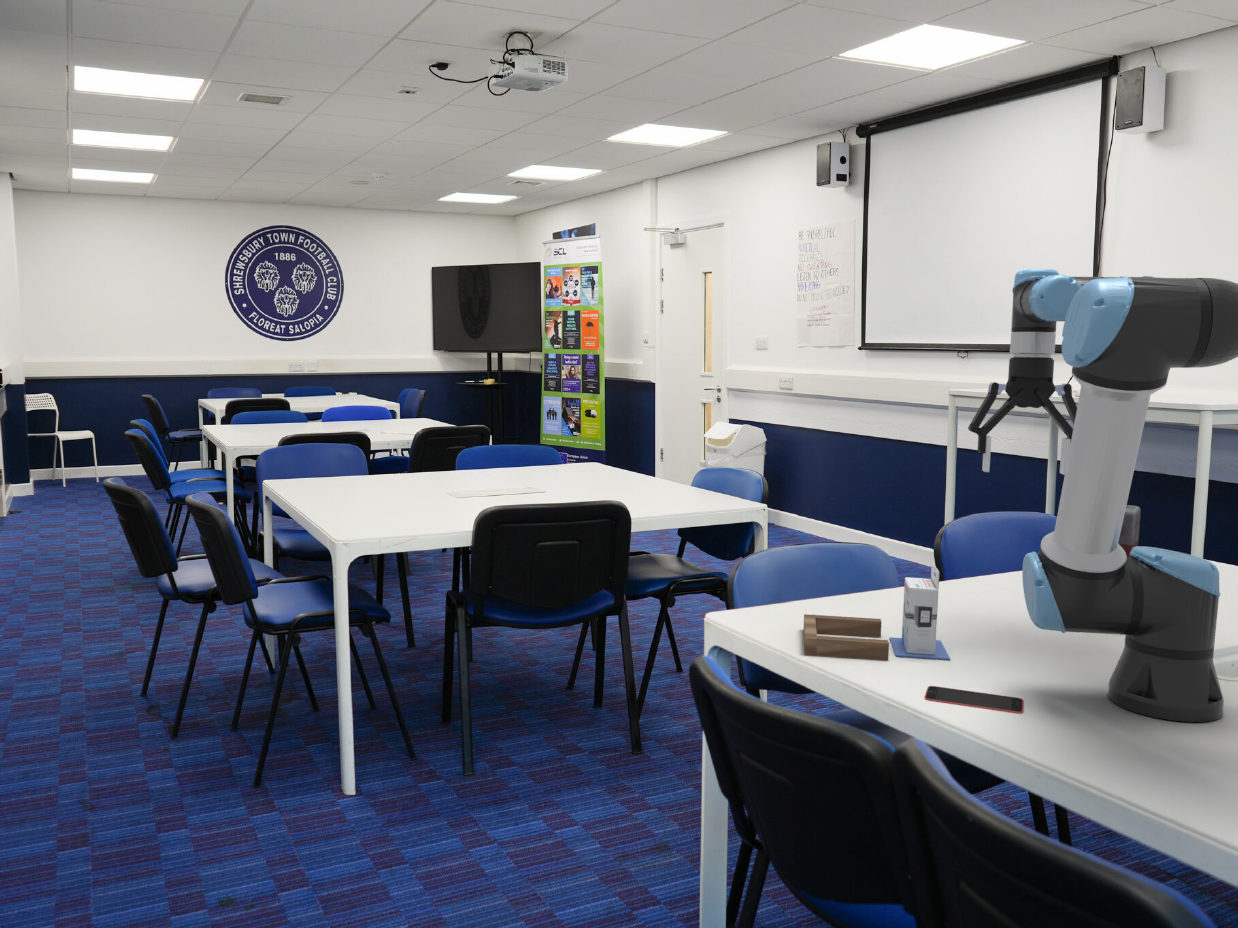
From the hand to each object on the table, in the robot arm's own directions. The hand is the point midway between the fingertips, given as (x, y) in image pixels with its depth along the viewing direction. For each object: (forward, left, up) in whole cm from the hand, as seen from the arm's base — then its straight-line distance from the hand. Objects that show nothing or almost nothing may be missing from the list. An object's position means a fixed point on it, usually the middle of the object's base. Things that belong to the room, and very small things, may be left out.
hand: (1024, 472), depth 179 cm
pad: (-13, +19, -31) cm, 38 cm away
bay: (-13, +32, -31) cm, 46 cm away
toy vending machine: (+12, -19, -31) cm, 38 cm away
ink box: (-13, +19, -31) cm, 38 cm away
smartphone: (-38, +14, -31) cm, 51 cm away
